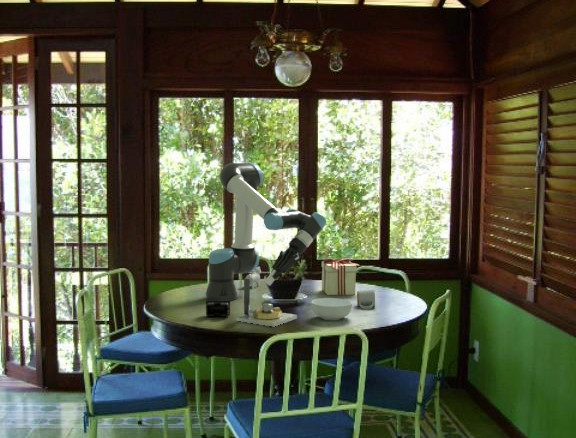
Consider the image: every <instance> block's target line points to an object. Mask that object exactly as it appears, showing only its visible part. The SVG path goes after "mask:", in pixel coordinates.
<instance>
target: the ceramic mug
mask: <svg viewBox="0 0 576 438" xmlns="http://www.w3.org/2000/svg"><path fill="white" fill-rule="evenodd" d="M375 292H376V291H375V289H363V290H358V291H356V304H357V306H358V307H360V308H361V309H363V310H370V309H373V308H375V306H376V294H375Z"/></svg>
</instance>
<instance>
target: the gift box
mask: <svg viewBox="0 0 576 438" xmlns="http://www.w3.org/2000/svg"><path fill="white" fill-rule="evenodd" d="M351 261H353V259H352V258H341V259H339V260H336V259H333V258H328V259H327V258H326V259H324V260H322V261H321V268H322V271H321V291H322V292H324V294H326V295H327V296H355V295H356V284H357V283H356V278H357V277H356V276H357V274H356V273H357V271H358V270H357V269H358V267H360V266H361V265H360V264H359V263H355V262H351ZM357 266H358V267H357Z"/></svg>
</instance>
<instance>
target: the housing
mask: <svg viewBox="0 0 576 438" xmlns="http://www.w3.org/2000/svg"><path fill="white" fill-rule="evenodd" d="M261 306H262V312H263V313H269V310H273V308H274V305H273V303H267V302H266V303H262V304H261ZM297 319H298V315H297V314H293V313H286V312H282V316H281V317H279V318H274V319H259V318H256V317H254V316H253V314H249V315H244V314H243V315H242V316H239V317H237V318H236V322H237V321H241V322H240V323H243V322H247V323H246V324H250V323H253V324H252V325H256V324H259V325H258V326H263V325H265V327H269V326H272V327H271V328H276V327H278V325H279V326H281V325H283V323H284V324H287V323H290V322H291V321H294V320H297ZM280 324H281V325H280ZM275 326H276V327H275Z"/></svg>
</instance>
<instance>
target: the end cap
mask: <svg viewBox="0 0 576 438" xmlns="http://www.w3.org/2000/svg"><path fill="white" fill-rule="evenodd" d="M205 315H206V319H207V318H228V319H229V317H230V315H231V300H230V301H211V300H206V301H205ZM228 316H229V317H228Z"/></svg>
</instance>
